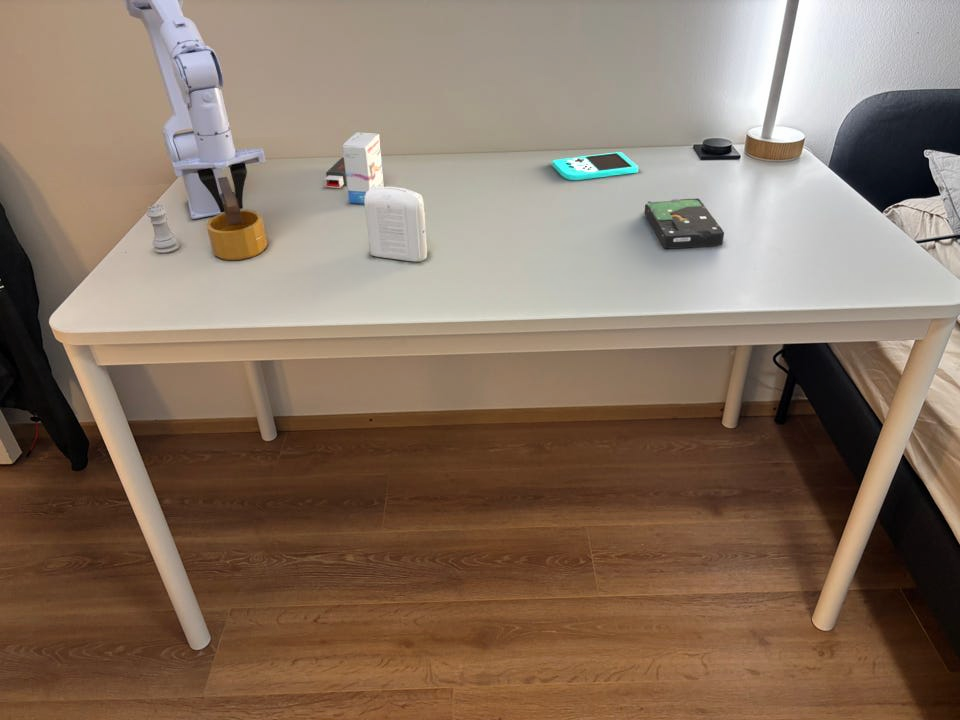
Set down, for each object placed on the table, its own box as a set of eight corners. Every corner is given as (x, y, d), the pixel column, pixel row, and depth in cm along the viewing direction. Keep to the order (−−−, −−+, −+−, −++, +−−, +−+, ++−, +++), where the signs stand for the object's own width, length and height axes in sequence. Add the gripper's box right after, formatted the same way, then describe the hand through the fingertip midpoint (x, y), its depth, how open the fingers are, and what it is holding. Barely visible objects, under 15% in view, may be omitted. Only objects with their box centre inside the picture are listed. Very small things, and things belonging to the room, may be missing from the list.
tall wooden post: (221, 205, 134) (215, 178, 131) (236, 203, 135) (229, 176, 132) (231, 236, 123) (224, 207, 120) (246, 233, 124) (240, 204, 121)
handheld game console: (551, 164, 161) (551, 158, 160) (620, 156, 164) (620, 150, 163) (566, 181, 153) (567, 175, 152) (638, 172, 156) (639, 166, 155)
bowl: (211, 243, 135) (203, 215, 132) (263, 233, 138) (257, 206, 134) (217, 265, 128) (209, 236, 124) (271, 254, 130) (265, 226, 127)
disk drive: (723, 247, 127) (696, 210, 139) (726, 232, 126) (699, 196, 138) (664, 251, 127) (642, 213, 139) (665, 236, 125) (644, 200, 137)
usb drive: (364, 168, 163) (363, 156, 162) (344, 189, 154) (343, 176, 152) (342, 167, 164) (340, 154, 163) (321, 187, 155) (319, 175, 153)
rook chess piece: (185, 245, 135) (173, 203, 130) (169, 256, 131) (156, 214, 127) (165, 242, 136) (152, 201, 131) (149, 252, 133) (135, 211, 128)
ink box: (372, 205, 147) (365, 146, 140) (348, 203, 147) (340, 145, 141) (385, 188, 153) (379, 131, 146) (362, 187, 154) (355, 130, 147)
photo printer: (431, 253, 129) (426, 185, 122) (422, 264, 126) (416, 195, 118) (377, 246, 132) (368, 180, 124) (367, 257, 128) (357, 190, 121)
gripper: (166, 145, 115) (189, 225, 123) (261, 130, 119) (277, 209, 127) (164, 131, 120) (186, 209, 128) (254, 118, 125) (270, 194, 132)
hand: (231, 208), depth 128 cm, fingers closed on tall wooden post, 2 cm apart
